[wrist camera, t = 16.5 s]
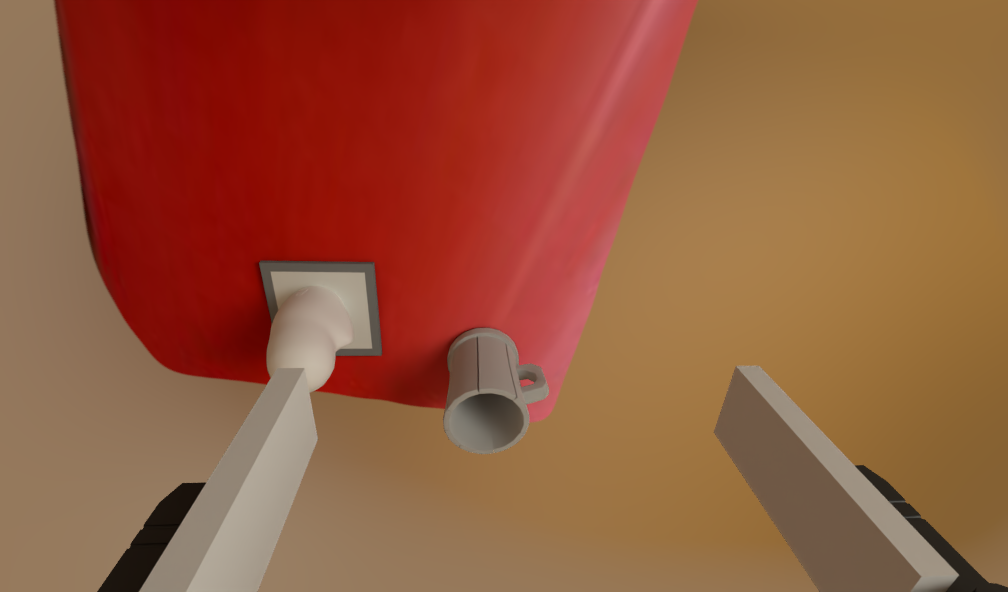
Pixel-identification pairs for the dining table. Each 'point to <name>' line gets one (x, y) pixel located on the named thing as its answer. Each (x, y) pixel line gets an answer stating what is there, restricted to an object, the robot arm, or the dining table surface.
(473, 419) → the cup
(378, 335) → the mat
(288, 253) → the dining table surface
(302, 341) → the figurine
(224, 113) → the dining table surface
